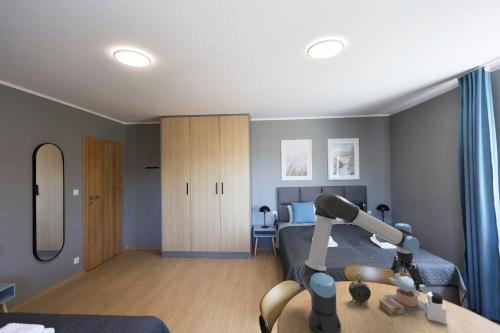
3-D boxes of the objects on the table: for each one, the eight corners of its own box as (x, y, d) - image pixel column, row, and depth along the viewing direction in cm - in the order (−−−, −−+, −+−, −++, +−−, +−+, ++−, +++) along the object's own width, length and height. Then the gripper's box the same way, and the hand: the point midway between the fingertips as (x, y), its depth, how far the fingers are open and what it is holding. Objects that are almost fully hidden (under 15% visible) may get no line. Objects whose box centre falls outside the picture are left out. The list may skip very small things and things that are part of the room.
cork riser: (390, 316, 112) (390, 308, 112) (379, 307, 120) (379, 299, 120) (404, 314, 113) (404, 306, 113) (392, 305, 121) (392, 298, 121)
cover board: (405, 291, 117) (405, 288, 117) (388, 280, 129) (388, 277, 129) (425, 289, 119) (425, 286, 119) (407, 279, 131) (406, 276, 131)
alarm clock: (368, 300, 126) (367, 272, 127) (372, 306, 121) (371, 276, 122) (348, 300, 128) (347, 272, 128) (352, 305, 122) (350, 276, 123)
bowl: (406, 308, 118) (406, 298, 118) (392, 298, 128) (392, 288, 128) (422, 306, 119) (421, 296, 120) (407, 296, 129) (407, 287, 129)
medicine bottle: (443, 316, 111) (441, 292, 112) (447, 324, 105) (445, 299, 106) (425, 312, 115) (424, 289, 115) (428, 320, 109) (426, 295, 109)
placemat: (406, 313, 115) (406, 312, 115) (384, 296, 130) (383, 295, 130) (433, 309, 117) (433, 309, 117) (407, 293, 132) (407, 293, 132)
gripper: (430, 258, 113) (432, 301, 112) (393, 244, 137) (395, 279, 136) (417, 260, 112) (420, 302, 111) (383, 245, 136) (384, 280, 135)
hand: (406, 289), depth 124 cm, fingers closed on cover board, 12 cm apart
